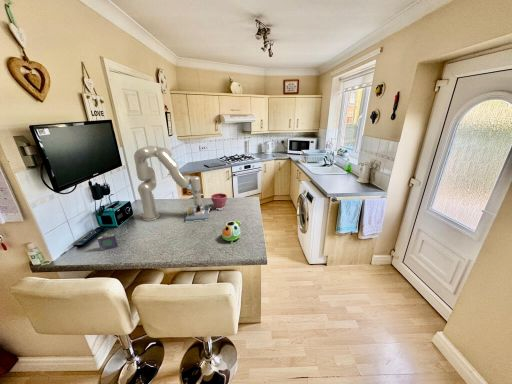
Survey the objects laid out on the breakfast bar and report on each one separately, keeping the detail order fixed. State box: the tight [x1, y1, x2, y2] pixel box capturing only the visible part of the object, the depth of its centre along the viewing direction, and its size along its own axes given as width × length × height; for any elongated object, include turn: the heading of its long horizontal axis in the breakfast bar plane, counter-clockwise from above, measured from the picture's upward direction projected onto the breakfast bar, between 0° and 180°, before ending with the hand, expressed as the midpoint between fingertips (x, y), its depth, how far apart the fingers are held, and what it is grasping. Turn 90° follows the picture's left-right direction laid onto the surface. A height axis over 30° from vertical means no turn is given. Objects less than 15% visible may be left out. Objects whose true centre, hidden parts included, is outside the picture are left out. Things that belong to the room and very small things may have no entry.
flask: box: [97, 232, 119, 252], centre depth 128 cm, size 9×3×11 cm, turn 117°
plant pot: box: [210, 192, 228, 209], centre depth 186 cm, size 14×14×13 cm
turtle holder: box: [221, 220, 242, 243], centre depth 141 cm, size 12×18×12 cm
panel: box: [185, 206, 212, 222], centre depth 175 cm, size 18×24×4 cm
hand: (198, 211), depth 171 cm, fingers closed
